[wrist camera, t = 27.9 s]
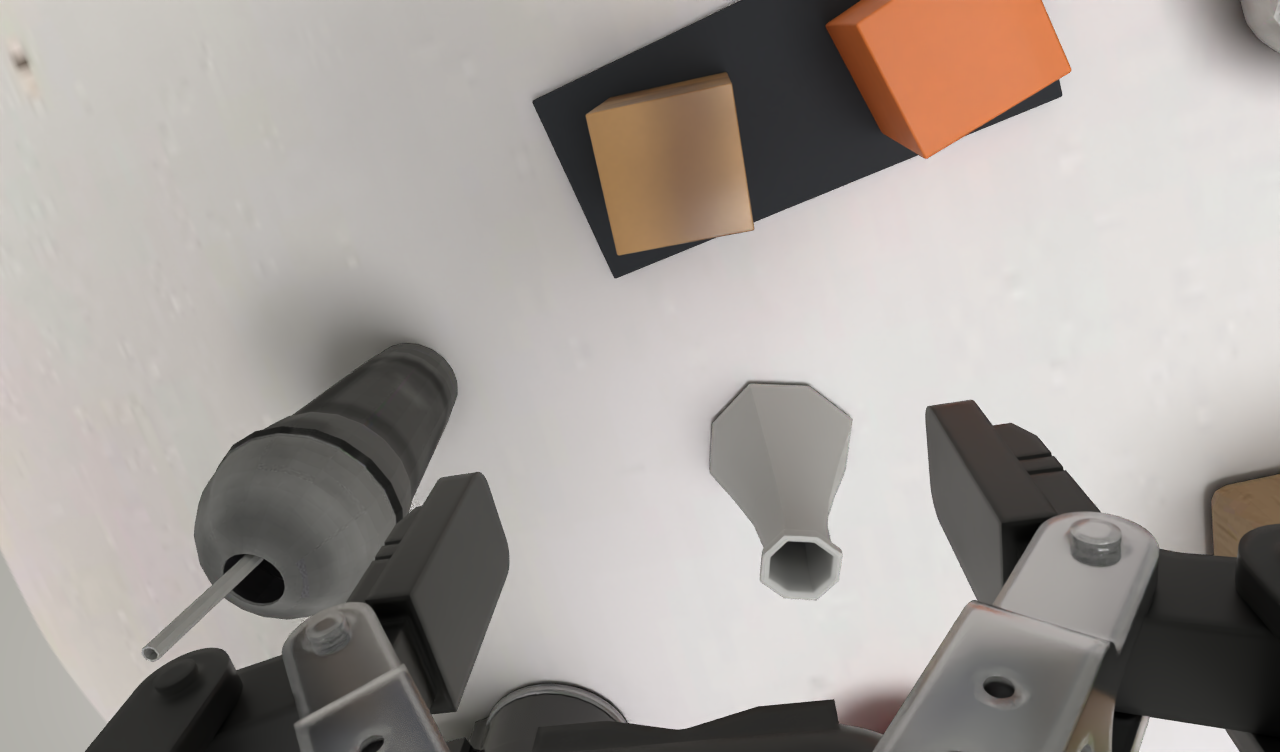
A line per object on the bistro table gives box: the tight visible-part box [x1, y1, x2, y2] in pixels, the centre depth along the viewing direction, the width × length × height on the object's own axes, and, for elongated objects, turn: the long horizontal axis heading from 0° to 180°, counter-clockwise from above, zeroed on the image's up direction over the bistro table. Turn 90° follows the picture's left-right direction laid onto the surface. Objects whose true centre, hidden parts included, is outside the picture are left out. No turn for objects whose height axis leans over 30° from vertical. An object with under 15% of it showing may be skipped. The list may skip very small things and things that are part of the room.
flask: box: [710, 384, 852, 600], centre depth 35 cm, size 7×7×10 cm
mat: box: [533, 0, 1062, 278], centre depth 32 cm, size 20×8×1 cm, turn 114°
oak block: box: [586, 72, 754, 255], centre depth 30 cm, size 5×5×7 cm
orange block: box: [825, 0, 1071, 159], centre depth 27 cm, size 5×5×7 cm
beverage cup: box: [142, 343, 457, 662], centre depth 30 cm, size 7×7×20 cm
